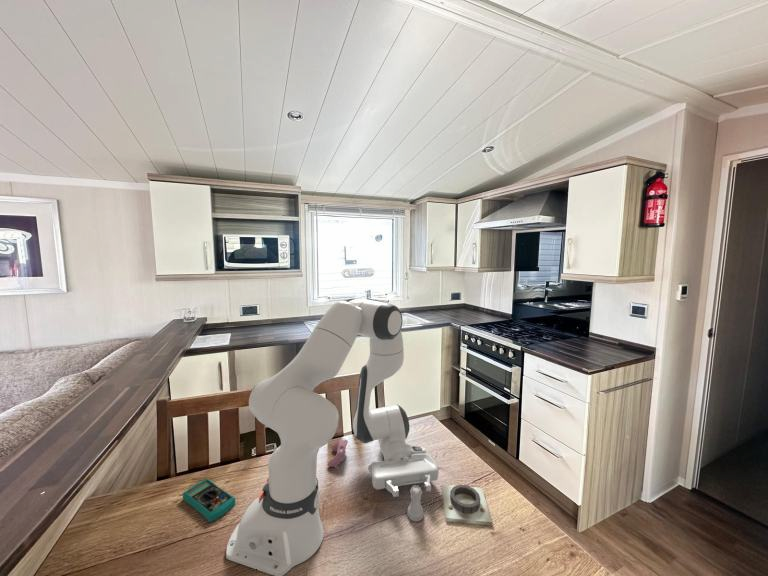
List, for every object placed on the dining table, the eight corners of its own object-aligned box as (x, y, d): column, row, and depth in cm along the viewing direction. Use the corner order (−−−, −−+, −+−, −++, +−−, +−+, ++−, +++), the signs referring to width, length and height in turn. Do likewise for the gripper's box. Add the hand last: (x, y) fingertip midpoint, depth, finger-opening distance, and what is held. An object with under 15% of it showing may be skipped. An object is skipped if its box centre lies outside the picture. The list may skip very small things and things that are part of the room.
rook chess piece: (403, 515, 84) (404, 488, 83) (413, 506, 88) (414, 479, 87) (416, 525, 81) (417, 497, 80) (426, 515, 84) (427, 488, 84)
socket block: (445, 521, 83) (445, 511, 82) (441, 487, 95) (441, 478, 94) (491, 525, 82) (492, 515, 81) (481, 490, 94) (482, 481, 93)
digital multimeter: (211, 525, 81) (210, 515, 80) (181, 500, 89) (181, 491, 88) (237, 506, 87) (236, 496, 87) (207, 485, 95) (207, 476, 94)
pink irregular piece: (338, 472, 102) (348, 455, 102) (326, 467, 102) (335, 449, 101) (342, 453, 112) (351, 437, 112) (331, 448, 112) (339, 431, 111)
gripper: (367, 454, 97) (376, 487, 83) (428, 446, 101) (446, 476, 88) (366, 473, 98) (375, 508, 84) (428, 464, 102) (445, 496, 89)
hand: (412, 491), depth 86 cm, fingers open, 8 cm apart
